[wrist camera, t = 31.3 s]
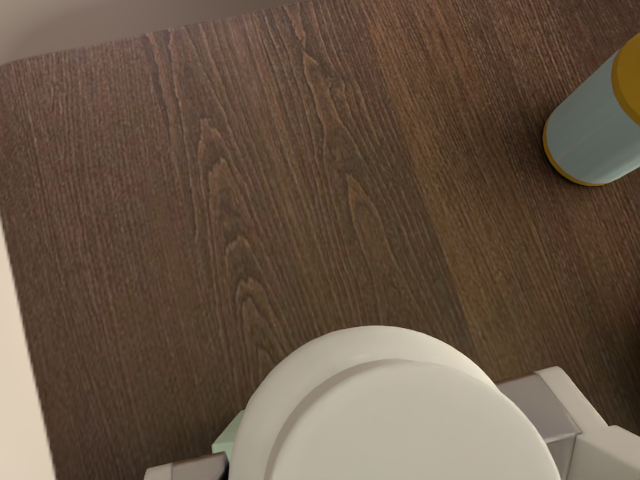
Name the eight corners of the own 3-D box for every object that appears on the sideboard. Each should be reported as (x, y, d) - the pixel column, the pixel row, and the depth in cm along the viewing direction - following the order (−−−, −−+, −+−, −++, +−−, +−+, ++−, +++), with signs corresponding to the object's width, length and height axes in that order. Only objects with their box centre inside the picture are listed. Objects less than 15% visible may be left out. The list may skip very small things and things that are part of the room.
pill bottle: (419, 551, 16) (618, 809, 7) (231, 519, 16) (160, 737, 6) (442, 358, 17) (637, 344, 8) (267, 327, 17) (252, 276, 8)
